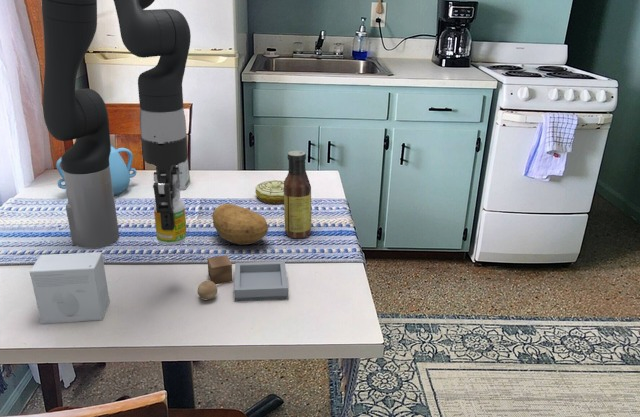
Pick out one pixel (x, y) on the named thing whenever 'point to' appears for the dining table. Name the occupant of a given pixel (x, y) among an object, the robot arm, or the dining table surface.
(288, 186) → the sauce bottle
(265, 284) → the tray
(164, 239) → the supplement bottle
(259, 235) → the potato
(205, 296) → the cork ball
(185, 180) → the syrup box
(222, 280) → the walnut block
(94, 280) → the skincare box
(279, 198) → the decorated donut
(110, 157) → the decorative pot
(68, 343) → the dining table surface
